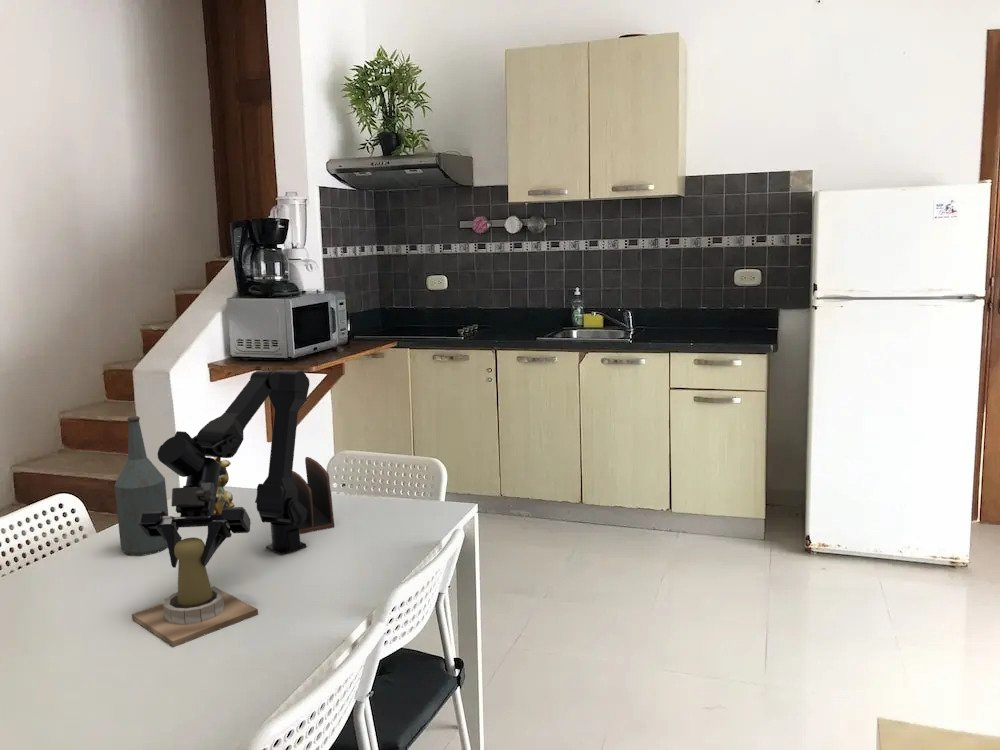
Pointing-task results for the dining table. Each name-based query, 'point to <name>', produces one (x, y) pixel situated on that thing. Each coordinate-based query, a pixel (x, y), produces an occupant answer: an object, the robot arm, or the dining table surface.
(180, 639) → the socket holder
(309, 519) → the letter holder
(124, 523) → the bottle
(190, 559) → the cork
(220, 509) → the decorative figurine
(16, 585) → the dining table surface
